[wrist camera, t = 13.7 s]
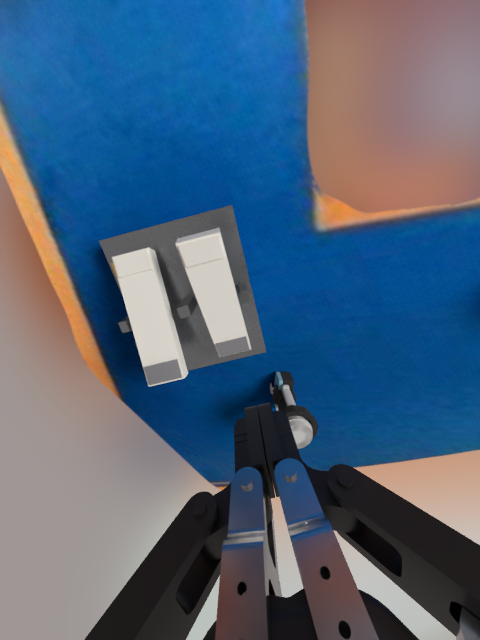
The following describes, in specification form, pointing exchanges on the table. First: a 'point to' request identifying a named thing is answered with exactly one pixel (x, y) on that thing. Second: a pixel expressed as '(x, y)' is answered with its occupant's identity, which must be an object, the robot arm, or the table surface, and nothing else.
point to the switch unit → (179, 288)
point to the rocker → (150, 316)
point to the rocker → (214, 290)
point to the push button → (293, 409)
